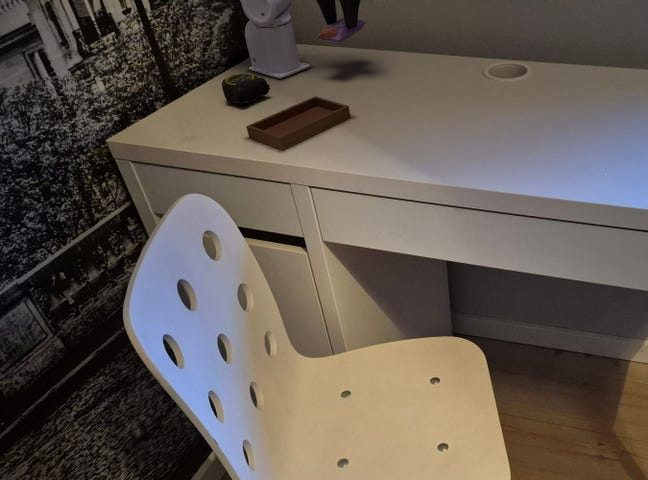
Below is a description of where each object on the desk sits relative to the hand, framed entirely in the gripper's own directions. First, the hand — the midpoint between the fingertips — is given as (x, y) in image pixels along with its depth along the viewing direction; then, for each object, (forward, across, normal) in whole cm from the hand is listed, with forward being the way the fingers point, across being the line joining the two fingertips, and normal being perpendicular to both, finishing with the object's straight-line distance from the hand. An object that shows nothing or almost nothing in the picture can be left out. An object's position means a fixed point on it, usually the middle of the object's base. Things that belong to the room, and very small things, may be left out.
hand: (342, 25), depth 125 cm
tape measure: (+9, +5, +20) cm, 23 cm away
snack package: (+2, 0, 0) cm, 2 cm away
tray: (+8, -12, +24) cm, 28 cm away
